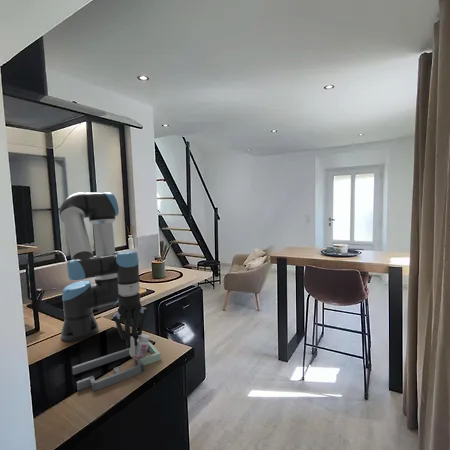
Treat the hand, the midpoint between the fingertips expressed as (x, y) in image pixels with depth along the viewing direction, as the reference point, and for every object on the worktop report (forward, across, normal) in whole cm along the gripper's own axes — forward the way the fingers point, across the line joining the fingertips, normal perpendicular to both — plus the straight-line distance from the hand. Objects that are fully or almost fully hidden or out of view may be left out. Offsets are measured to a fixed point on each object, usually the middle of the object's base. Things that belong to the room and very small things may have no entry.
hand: (132, 354), depth 106 cm
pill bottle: (+2, +2, +1) cm, 3 cm away
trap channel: (+3, -5, -1) cm, 6 cm away
